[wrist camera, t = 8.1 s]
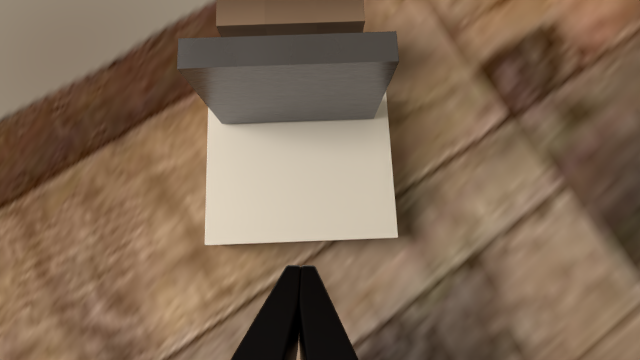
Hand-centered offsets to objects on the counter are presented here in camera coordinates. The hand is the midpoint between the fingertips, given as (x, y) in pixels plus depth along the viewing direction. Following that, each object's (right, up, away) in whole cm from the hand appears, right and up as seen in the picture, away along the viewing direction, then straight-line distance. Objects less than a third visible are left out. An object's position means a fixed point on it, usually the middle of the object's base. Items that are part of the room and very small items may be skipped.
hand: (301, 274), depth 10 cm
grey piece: (-1, +10, +13) cm, 16 cm away
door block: (-1, +4, +15) cm, 15 cm away
